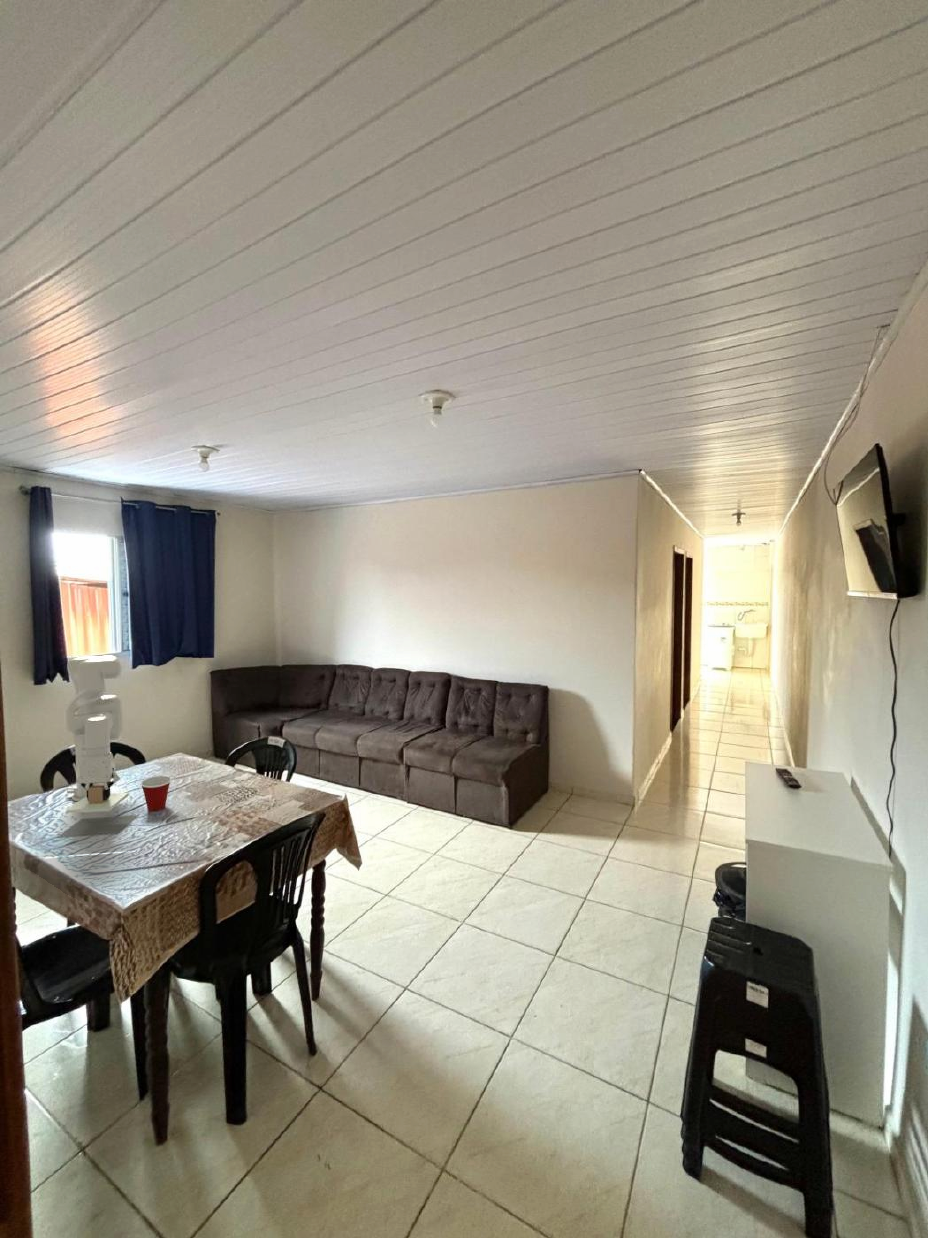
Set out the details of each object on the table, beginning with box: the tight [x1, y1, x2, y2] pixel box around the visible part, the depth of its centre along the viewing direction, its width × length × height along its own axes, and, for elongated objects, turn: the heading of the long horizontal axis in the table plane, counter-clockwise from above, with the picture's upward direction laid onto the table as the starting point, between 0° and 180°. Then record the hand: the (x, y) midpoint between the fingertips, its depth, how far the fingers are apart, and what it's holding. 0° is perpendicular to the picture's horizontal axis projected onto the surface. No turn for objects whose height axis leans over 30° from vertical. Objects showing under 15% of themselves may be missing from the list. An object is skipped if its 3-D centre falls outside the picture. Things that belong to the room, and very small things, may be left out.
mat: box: [55, 815, 140, 839], centre depth 189 cm, size 20×16×1 cm
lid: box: [65, 783, 130, 814], centre depth 189 cm, size 14×14×7 cm
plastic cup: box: [139, 775, 172, 812], centre depth 205 cm, size 11×11×12 cm
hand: (98, 798), depth 189 cm, fingers closed on lid, 4 cm apart
